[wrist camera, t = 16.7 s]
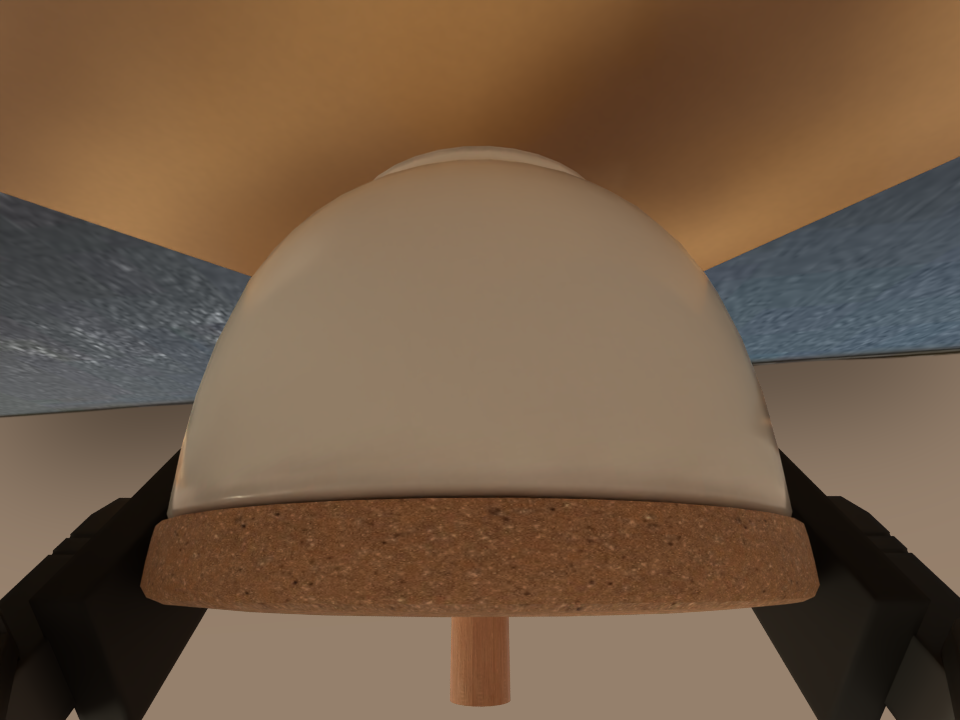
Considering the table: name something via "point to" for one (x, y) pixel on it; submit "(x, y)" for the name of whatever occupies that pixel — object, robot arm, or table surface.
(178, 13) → the cork mat
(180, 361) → the table surface
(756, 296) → the table surface
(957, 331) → the table surface
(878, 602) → the robot arm
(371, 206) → the trinket box
